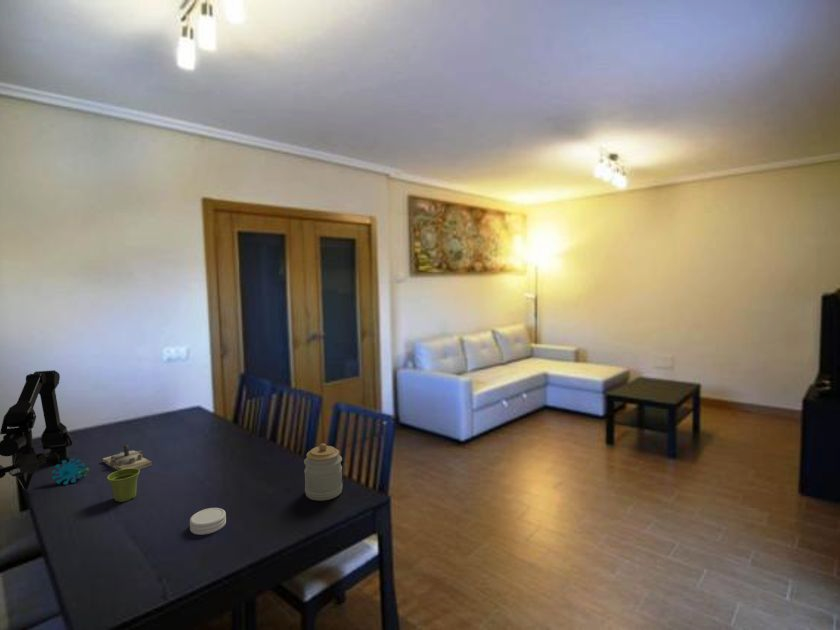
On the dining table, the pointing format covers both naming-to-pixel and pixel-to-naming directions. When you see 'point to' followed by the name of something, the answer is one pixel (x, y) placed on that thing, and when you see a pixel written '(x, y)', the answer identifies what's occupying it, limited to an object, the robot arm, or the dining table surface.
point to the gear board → (135, 465)
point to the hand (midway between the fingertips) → (25, 488)
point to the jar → (323, 473)
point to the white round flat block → (207, 521)
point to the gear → (69, 471)
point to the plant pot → (124, 483)
